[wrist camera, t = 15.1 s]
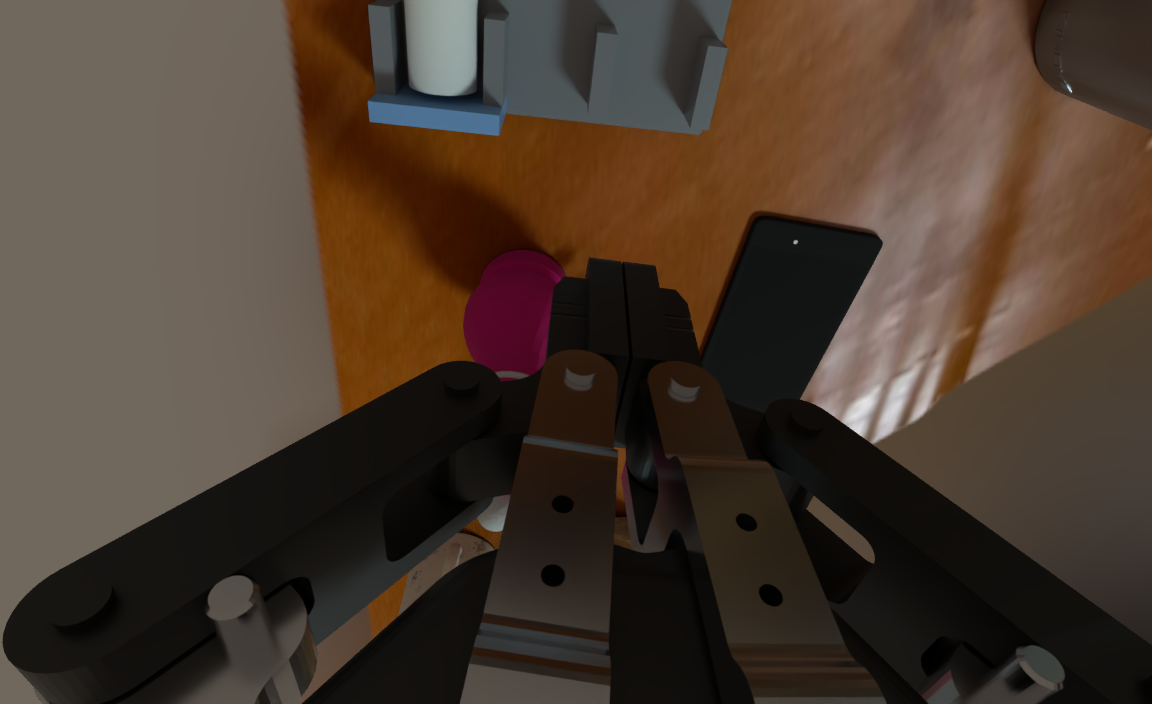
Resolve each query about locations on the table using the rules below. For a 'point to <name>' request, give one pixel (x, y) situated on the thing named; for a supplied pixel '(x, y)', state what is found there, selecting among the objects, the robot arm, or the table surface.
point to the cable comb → (565, 65)
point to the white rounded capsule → (442, 46)
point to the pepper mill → (511, 328)
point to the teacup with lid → (441, 564)
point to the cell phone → (784, 307)
